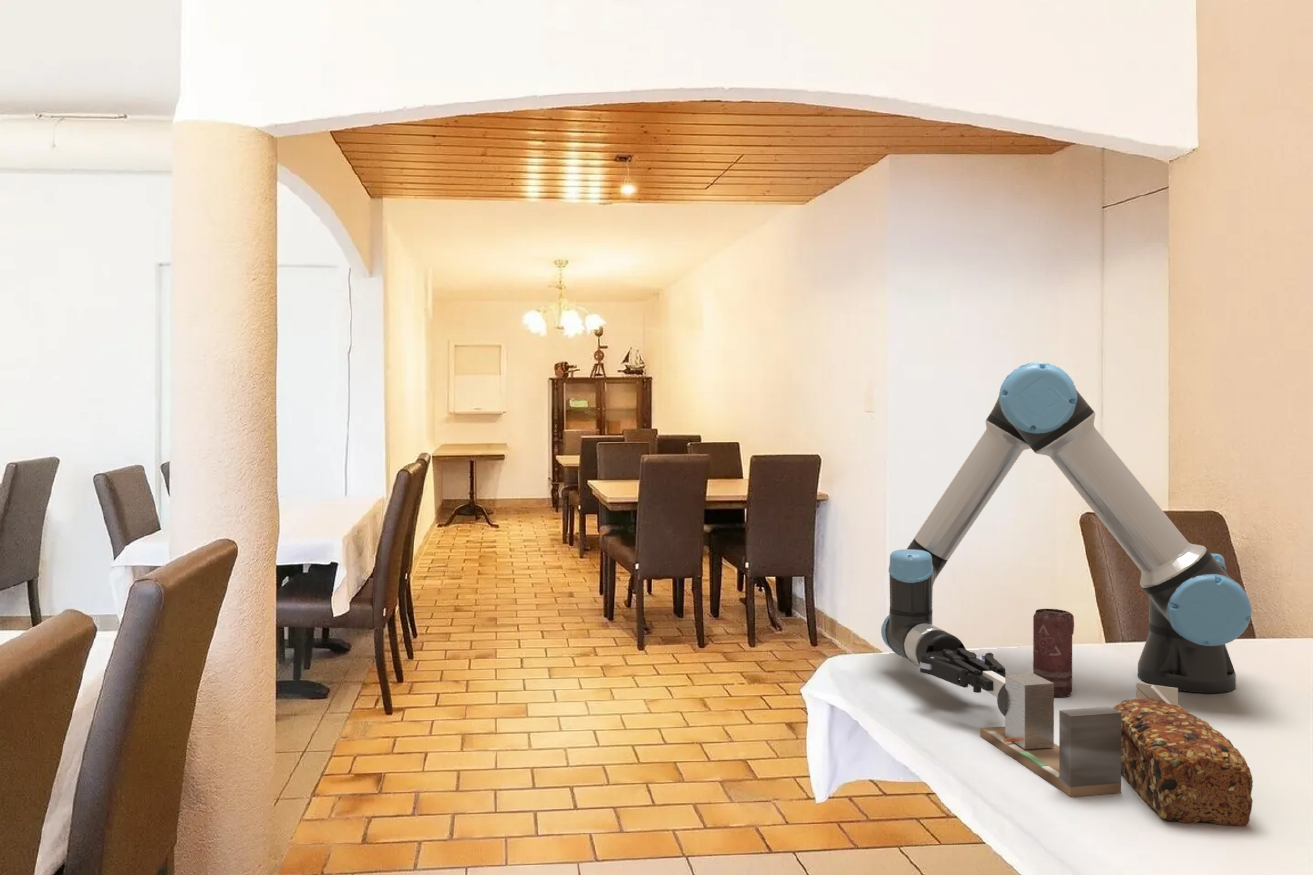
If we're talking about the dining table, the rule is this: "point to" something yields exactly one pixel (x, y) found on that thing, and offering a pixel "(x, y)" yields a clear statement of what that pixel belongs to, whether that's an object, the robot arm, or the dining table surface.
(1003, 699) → the brushed steel block
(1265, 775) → the dining table surface
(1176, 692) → the architectural model
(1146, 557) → the robot arm
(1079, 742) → the gauge body
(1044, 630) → the can
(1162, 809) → the bread
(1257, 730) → the dining table surface
